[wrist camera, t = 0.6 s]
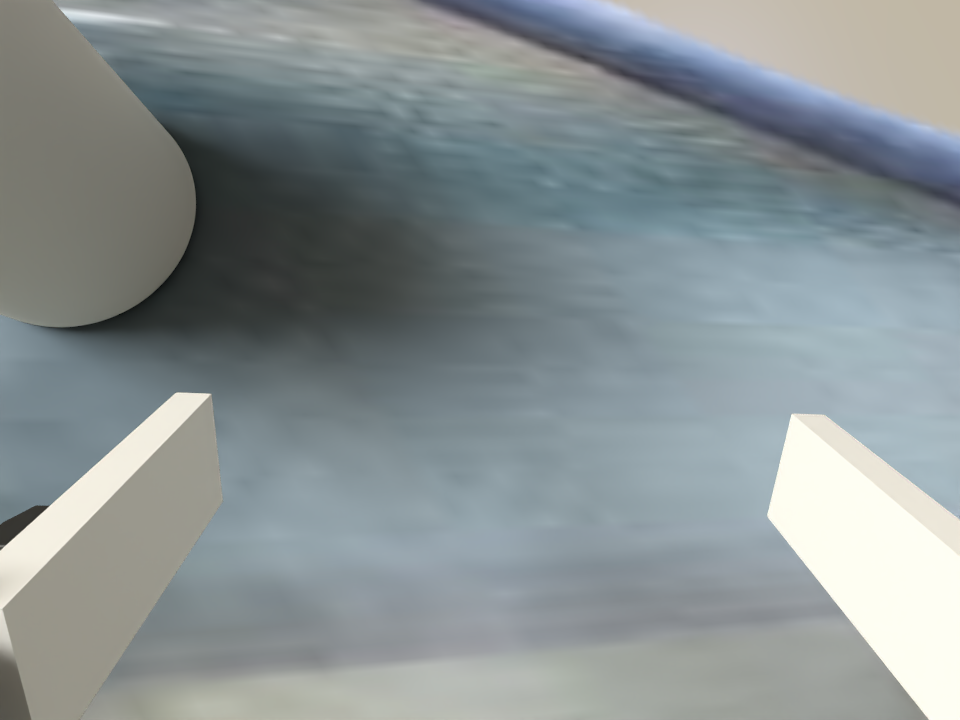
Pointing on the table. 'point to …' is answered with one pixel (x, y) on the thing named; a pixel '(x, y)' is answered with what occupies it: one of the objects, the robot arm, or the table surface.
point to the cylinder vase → (80, 179)
